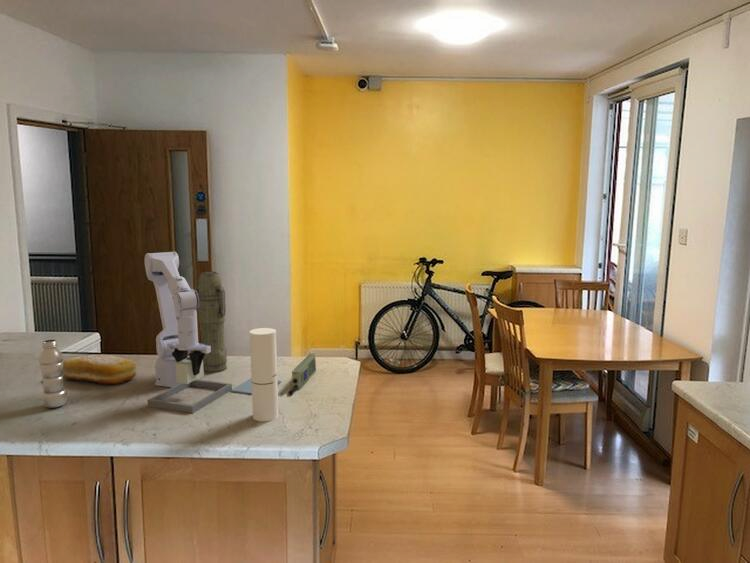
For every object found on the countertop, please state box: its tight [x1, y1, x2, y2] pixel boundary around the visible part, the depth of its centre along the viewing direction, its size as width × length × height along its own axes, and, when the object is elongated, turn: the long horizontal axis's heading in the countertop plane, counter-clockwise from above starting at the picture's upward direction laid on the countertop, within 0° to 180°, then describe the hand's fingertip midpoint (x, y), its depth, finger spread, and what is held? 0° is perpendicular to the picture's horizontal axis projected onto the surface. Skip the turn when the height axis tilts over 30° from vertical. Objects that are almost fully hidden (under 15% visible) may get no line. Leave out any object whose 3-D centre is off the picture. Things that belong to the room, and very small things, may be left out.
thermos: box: [195, 271, 228, 374], centre depth 199 cm, size 9×12×35 cm
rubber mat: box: [230, 377, 282, 396], centre depth 184 cm, size 11×13×1 cm
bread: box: [63, 354, 137, 386], centre depth 192 cm, size 13×26×8 cm, turn 73°
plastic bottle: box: [38, 339, 68, 409], centre depth 167 cm, size 6×7×20 cm
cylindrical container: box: [249, 327, 279, 423], centre depth 159 cm, size 7×7×25 cm
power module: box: [175, 355, 205, 384], centre depth 173 cm, size 4×8×7 cm, turn 161°
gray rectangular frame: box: [147, 378, 233, 414], centre depth 175 cm, size 16×20×2 cm
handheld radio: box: [288, 353, 317, 396], centre depth 188 cm, size 7×3×25 cm
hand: (190, 373), depth 174 cm, fingers closed on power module, 4 cm apart
